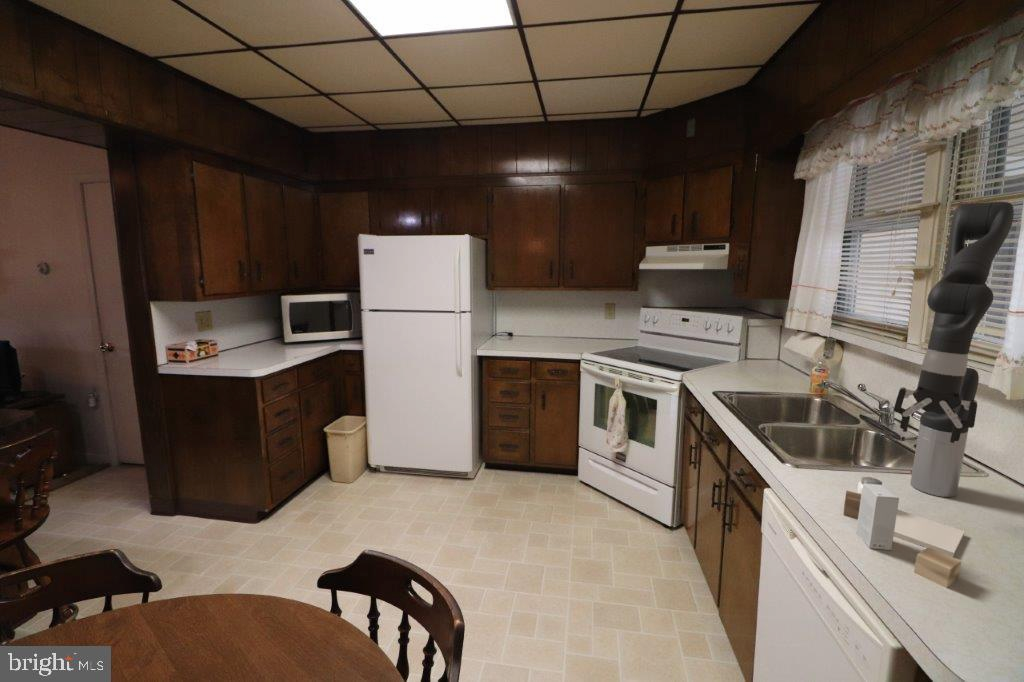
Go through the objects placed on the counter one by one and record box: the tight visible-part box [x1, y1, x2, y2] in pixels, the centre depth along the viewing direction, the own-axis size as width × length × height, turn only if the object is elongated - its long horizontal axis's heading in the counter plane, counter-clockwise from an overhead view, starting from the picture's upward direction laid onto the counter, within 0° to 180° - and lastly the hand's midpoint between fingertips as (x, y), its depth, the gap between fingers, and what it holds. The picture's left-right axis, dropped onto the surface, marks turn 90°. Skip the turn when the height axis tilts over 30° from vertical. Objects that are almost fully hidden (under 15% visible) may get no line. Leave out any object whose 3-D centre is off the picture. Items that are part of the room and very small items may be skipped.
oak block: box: [913, 547, 962, 589], centre depth 91 cm, size 5×5×4 cm
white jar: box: [856, 476, 883, 494], centre depth 116 cm, size 5×5×7 cm
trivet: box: [893, 509, 965, 558], centre depth 105 cm, size 12×12×1 cm
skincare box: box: [855, 483, 900, 551], centre depth 101 cm, size 6×4×12 cm
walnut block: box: [843, 490, 861, 520], centre depth 113 cm, size 4×4×4 cm
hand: (927, 436), depth 112 cm, fingers open, 8 cm apart
